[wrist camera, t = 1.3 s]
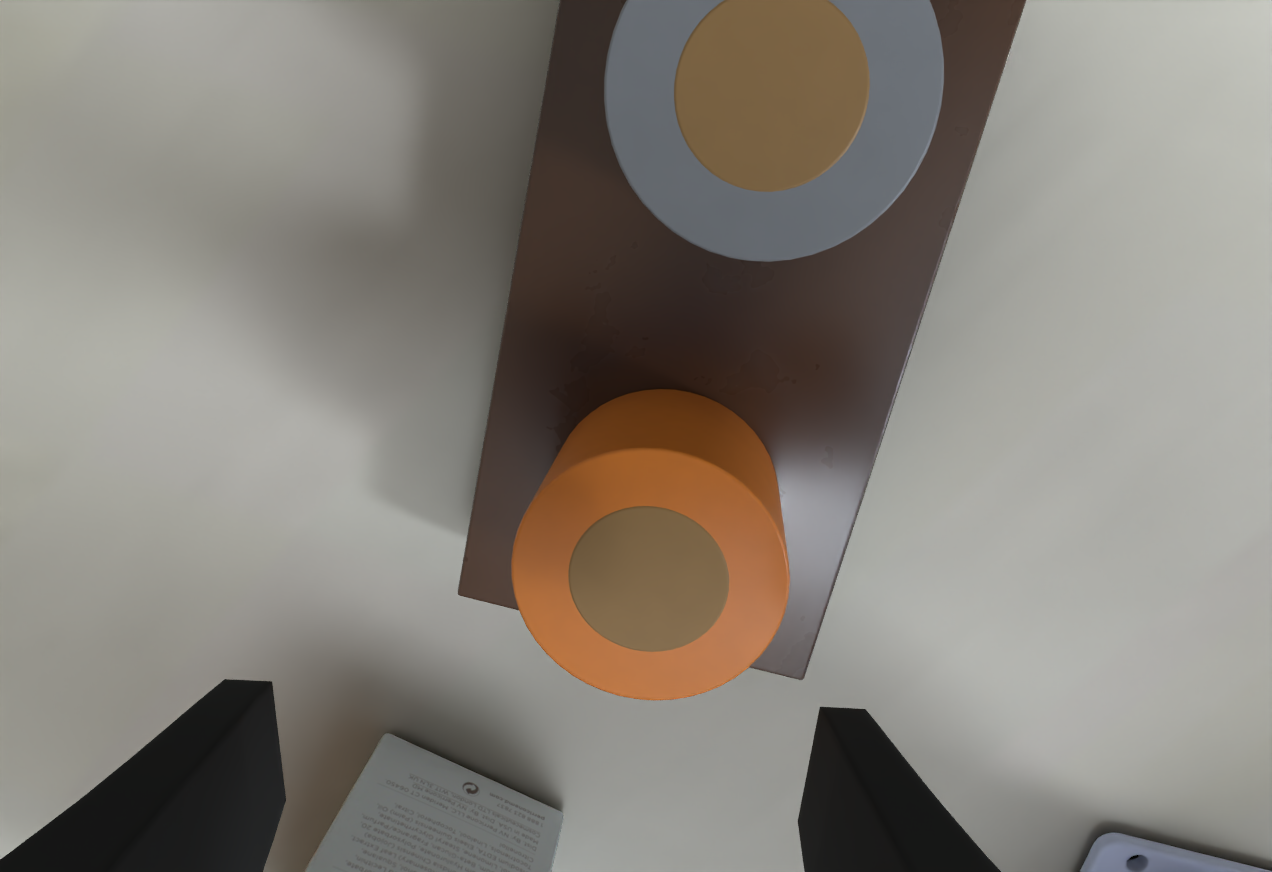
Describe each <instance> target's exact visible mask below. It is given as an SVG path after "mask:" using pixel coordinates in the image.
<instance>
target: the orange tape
mask: <svg viewBox="0 0 1272 872" xmlns="http://www.w3.org/2000/svg"><path fill="white" fill-rule="evenodd" d="M511 572H512V584H513V590H514V595H515V598H516V601H517V605H518V608H519V611H520V613H521V615H522V617H523V620H524V622H525V624H526V626H527V628H528V629H529V631H530V632H531V634H532V635H533V637H534V639H535V640H536V641H537V643H538V644H539V645H540V646H541V647H542V649H543V650H544V651H545V652H546V653H547V654H548V655H549V656H550V657H551V658H552V659H553V660H554V661H555V662H556V663H557V664H558V665H559V666H561V667H562V668H563V669H565V670H566V671H567V672H569V673H570V674H571V675H573V676H575V677H576V678H578V679H580V680H582V681H583V682H585V683H587V684H589V685H591V686H593V687H596V688H598V689H600V690H603V691H606V692H609V693H612V694H615V695H619V696H623V697H629V698H634V699H643V700H672V699H679V698H685V697H690V696H694V695H697V694H701V693H704V692H707V691H709V690H712V689H714V688H717V687H719V686H721V685H723V684H725V683H726V682H728V681H730V680H732V679H734V678H735V677H736V676H738V675H739V674H740V673H742V672H743V671H744V670H746V669H747V668H748V667H749V666H750V665H751V664H752V663H753V662H755V661H756V660H757V659H758V658H759V657H760V656H761V654H762V653H763V652H764V650H765V649H766V648H767V647H768V645H769V644H770V643H771V641H772V639H773V638H774V636H775V634H776V632H777V631H778V629H779V626H780V624H781V621H782V619H783V616H784V614H785V610H786V606H787V602H788V597H789V586H790V573H789V560H788V553H787V546H786V539H785V532H784V524H783V517H782V510H781V503H780V495H779V488H778V482H777V478H776V473H775V469H774V466H773V464H772V461H771V458H770V456H769V454H768V452H767V450H766V448H765V446H764V445H763V443H762V442H761V440H760V439H759V437H758V436H757V435H756V433H755V432H754V431H753V430H752V429H751V428H750V427H749V426H748V425H747V423H746V422H745V421H744V420H742V419H741V418H740V417H739V416H737V415H736V414H735V413H734V412H733V411H731V410H729V409H728V408H726V407H724V406H723V405H721V404H720V403H718V402H715V401H713V400H711V399H709V398H706V397H704V396H701V395H697V394H694V393H691V392H686V391H680V390H672V389H653V390H643V391H638V392H633V393H629V394H626V395H623V396H620V397H618V398H615V399H613V400H611V401H609V402H607V403H605V404H603V405H601V406H600V407H598V408H597V409H595V410H594V411H593V412H591V413H590V414H589V415H587V416H586V417H585V418H584V419H583V420H582V421H581V422H580V423H579V424H578V425H577V426H576V428H575V429H574V430H573V431H572V432H571V434H570V435H569V437H568V438H567V440H566V441H565V443H564V445H563V446H562V448H561V450H560V452H559V453H558V455H557V457H556V459H555V461H554V462H553V464H552V466H551V468H550V469H549V471H548V473H547V475H546V477H545V478H544V480H543V482H542V484H541V485H540V487H539V489H538V491H537V493H536V494H535V496H534V498H533V500H532V502H531V503H530V505H529V507H528V509H527V510H526V512H525V514H524V516H523V518H522V521H521V523H520V525H519V528H518V530H517V534H516V537H515V541H514V545H513V551H512V560H511Z"/></svg>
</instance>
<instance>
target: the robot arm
mask: <svg viewBox="0 0 1272 872" xmlns="http://www.w3.org/2000/svg"><path fill="white" fill-rule="evenodd" d="M285 802H286V796H285V788H284V779H283V770H282V762H281V753H280V745H279V736H278V728H277V719H276V711H275V702H274V694H273V685H272V682H270V681H249V680H227V679H225V680H223V681H222V682H221V683H220V684H218V685H217V686H216V687H215V688H214V689H212V690H211V691H210V692H209V693H208V694H206V695H205V696H204V697H203V698H201V699H200V700H199V701H198V702H197V703H196V704H194V705H193V706H192V707H191V708H190V709H188V710H187V711H186V712H185V713H184V714H182V715H181V716H180V717H179V718H178V719H177V720H175V721H174V722H173V723H172V724H171V725H170V726H168V727H167V728H166V729H165V730H164V731H162V732H161V733H160V734H159V735H158V736H157V737H155V738H154V739H153V740H152V741H151V742H149V743H148V744H147V745H146V746H145V747H143V748H142V749H141V750H140V751H139V752H138V753H136V754H135V755H134V756H133V757H132V758H130V759H129V760H128V761H127V762H125V763H124V764H123V765H122V766H121V767H119V768H118V769H117V770H116V771H114V772H113V773H112V774H111V775H109V776H108V777H107V778H106V779H105V780H103V781H102V782H101V783H100V784H98V785H97V786H96V787H95V788H94V789H92V790H91V791H90V792H89V793H87V794H86V795H85V796H84V797H83V798H81V799H80V800H79V801H77V802H76V803H75V804H74V805H72V806H71V807H70V808H68V809H67V810H66V811H64V812H63V813H62V814H60V815H59V816H58V817H56V818H55V819H54V820H52V821H51V822H50V823H48V824H47V825H46V826H44V827H43V828H42V829H40V830H39V831H38V832H37V833H35V834H34V835H33V836H31V837H30V838H29V839H27V840H26V841H25V842H23V843H22V844H21V845H19V846H18V847H17V848H15V849H14V850H13V851H11V852H10V853H9V854H7V855H6V856H5V857H3V858H2V859H0V872H263V869H264V866H265V863H266V860H267V857H268V855H269V852H270V849H271V846H272V843H273V840H274V836H275V833H276V830H277V827H278V824H279V821H280V817H281V814H282V811H283V808H284V805H285ZM798 826H799V833H800V841H801V848H802V856H803V863H804V870H805V872H1001V871H1000V870H999V869H998V868H997V867H996V866H995V865H994V864H993V862H992V861H991V860H990V859H989V858H988V857H987V856H986V855H985V854H984V852H983V851H982V850H981V849H980V848H979V847H978V846H977V845H976V843H975V842H974V841H973V840H972V839H971V838H970V837H969V835H968V834H967V833H966V832H965V831H964V830H963V828H962V827H961V826H960V825H959V824H958V823H957V821H956V820H955V819H954V818H953V817H952V816H951V814H950V813H949V812H948V811H947V810H946V809H945V807H944V806H943V805H942V804H941V803H940V801H939V800H938V799H937V798H936V797H935V795H934V794H933V793H932V792H931V791H930V789H929V788H928V787H927V786H926V784H925V783H924V782H923V781H922V779H921V778H920V777H919V776H918V774H917V773H916V772H915V771H914V769H913V768H912V767H911V766H910V765H909V763H908V762H907V761H906V759H905V758H904V757H903V756H902V754H901V753H900V752H899V751H898V749H897V748H896V747H895V746H894V744H893V743H892V742H891V740H890V739H889V738H888V737H887V735H886V734H885V733H884V732H883V730H882V729H881V728H880V726H879V725H878V724H877V723H876V721H875V720H874V719H873V718H872V716H871V715H870V714H869V713H868V712H867V711H866V709H852V708H831V707H820V709H819V715H818V720H817V725H816V730H815V735H814V740H813V746H812V751H811V756H810V761H809V766H808V771H807V777H806V782H805V787H804V792H803V797H802V802H801V808H800V813H799V818H798ZM1134 855H1140V856H1139V857H1138V858H1136V859H1133V860H1128V859H1129V858H1130V857H1131V856H1134ZM1080 872H1272V871H1269V870H1265V869H1261V868H1257V867H1253V866H1249V865H1245V864H1241V863H1237V862H1233V861H1229V860H1225V859H1221V858H1217V857H1213V856H1209V855H1205V854H1201V853H1197V852H1193V851H1189V850H1185V849H1181V848H1177V847H1173V846H1169V845H1165V844H1161V843H1157V842H1153V841H1149V840H1145V839H1141V838H1137V837H1133V836H1129V835H1125V834H1121V833H1113V832H1112V833H1107V834H1104V835H1102V836H1100V837H1099V838H1097V840H1096V841H1095V842H1094V843H1093V846H1092V848H1091V850H1090V852H1089V854H1088V856H1087V858H1086V860H1085V862H1084V864H1083V866H1082V868H1081V870H1080Z"/></svg>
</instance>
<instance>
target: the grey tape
mask: <svg viewBox="0 0 1272 872" xmlns="http://www.w3.org/2000/svg"><path fill="white" fill-rule="evenodd" d="M943 85H944V57H943V50H942V43H941V35H940V31H939V28H938V24H937V20H936V17H935V13H934V10H933V8H932V5H931V3H930V1H929V0H627V1H626V2H625V4H624V6H623V8H622V10H621V13H620V15H619V18H618V21H617V23H616V26H615V28H614V31H613V34H612V38H611V42H610V46H609V50H608V54H607V61H606V69H605V77H604V103H605V112H606V121H607V126H608V131H609V135H610V139H611V143H612V146H613V149H614V152H615V154H616V157H617V160H618V162H619V165H620V167H621V169H622V171H623V173H624V175H625V177H626V179H627V180H628V182H629V184H630V186H631V187H632V189H633V190H634V192H635V193H636V194H637V196H638V197H639V199H640V200H641V201H642V203H643V204H644V205H645V206H646V207H647V208H648V209H649V210H650V212H651V213H652V214H653V215H654V216H655V217H656V218H657V219H658V220H659V221H661V222H662V223H663V224H664V225H665V226H667V227H668V228H669V229H670V230H671V231H673V232H674V233H676V234H677V235H679V236H680V237H682V238H684V239H685V240H687V241H688V242H690V243H692V244H694V245H696V246H698V247H701V248H703V249H705V250H707V251H709V252H713V253H716V254H719V255H722V256H726V257H729V258H735V259H741V260H747V261H767V262H772V261H782V260H792V259H796V258H800V257H805V256H809V255H813V254H816V253H818V252H821V251H824V250H826V249H829V248H832V247H834V246H836V245H838V244H840V243H842V242H844V241H845V240H847V239H849V238H851V237H853V236H854V235H856V234H857V233H859V232H860V231H862V230H863V229H864V228H866V227H867V226H869V225H870V224H871V223H873V222H874V221H875V220H876V219H877V218H878V217H879V216H880V215H882V214H883V213H884V212H885V211H886V210H887V209H888V208H889V207H890V206H891V205H892V204H893V202H894V201H895V200H896V199H897V198H898V197H899V196H900V194H901V193H902V192H903V191H904V189H905V188H906V186H907V185H908V184H909V182H910V181H911V179H912V178H913V176H914V175H915V173H916V172H917V170H918V168H919V166H920V164H921V162H922V160H923V158H924V156H925V154H926V153H927V150H928V148H929V145H930V142H931V140H932V137H933V134H934V132H935V129H936V125H937V121H938V117H939V113H940V108H941V102H942V94H943Z"/></svg>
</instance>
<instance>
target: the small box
mask: <svg viewBox="0 0 1272 872" xmlns="http://www.w3.org/2000/svg"><path fill="white" fill-rule="evenodd" d="M562 823H563V813H562V812H560V811H559V810H556V809H554V808H552V807H550V806H548V805H546V804H543V803H541V802H539V801H537V800H534V799H532V798H530V797H528V796H526V795H523V794H521V793H519V792H517V791H515V790H513V789H510V788H508V787H506V786H504V785H502V784H500V783H497V782H495V781H493V780H491V779H489V778H486V777H484V776H482V775H479V774H477V773H475V772H473V771H471V770H468V769H466V768H464V767H462V766H460V765H458V764H455V763H453V762H451V761H449V760H447V759H445V758H442V757H440V756H438V755H436V754H434V753H431V752H429V751H427V750H425V749H423V748H420V747H418V746H416V745H414V744H412V743H409V742H407V741H405V740H403V739H401V738H398V737H396V736H394V735H392V734H388V733H386V734H384V735H383V736H382V738H381V740H380V741H379V743H378V745H377V747H376V748H375V750H374V752H373V753H372V755H371V757H370V758H369V760H368V762H367V764H366V765H365V767H364V769H363V770H362V772H361V774H360V776H359V777H358V779H357V781H356V782H355V784H354V786H353V788H352V789H351V791H350V793H349V795H348V796H347V798H346V800H345V802H344V804H343V805H342V807H341V808H340V810H339V812H338V813H337V815H336V817H335V819H334V820H333V822H332V824H331V826H330V827H329V829H328V831H327V833H326V834H325V836H324V838H323V840H322V841H321V843H320V845H319V846H318V848H317V850H316V851H315V853H314V855H313V857H312V858H311V860H310V862H309V864H308V865H307V867H306V869H305V871H304V872H551V871H552V866H553V862H554V858H555V854H556V850H557V845H558V841H559V837H560V832H561V827H562Z"/></svg>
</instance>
